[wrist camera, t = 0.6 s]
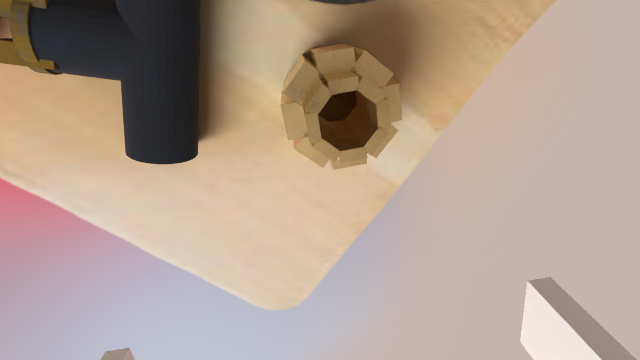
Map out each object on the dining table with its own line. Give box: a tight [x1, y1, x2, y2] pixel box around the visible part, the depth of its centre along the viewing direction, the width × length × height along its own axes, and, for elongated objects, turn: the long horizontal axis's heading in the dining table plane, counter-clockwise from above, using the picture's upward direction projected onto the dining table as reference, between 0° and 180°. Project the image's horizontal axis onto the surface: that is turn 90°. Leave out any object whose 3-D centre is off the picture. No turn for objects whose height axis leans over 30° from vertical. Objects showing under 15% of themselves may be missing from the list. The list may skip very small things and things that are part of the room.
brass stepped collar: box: [281, 44, 402, 170], centre depth 25 cm, size 8×8×8 cm
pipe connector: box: [0, 0, 200, 164], centre depth 24 cm, size 12×5×15 cm
